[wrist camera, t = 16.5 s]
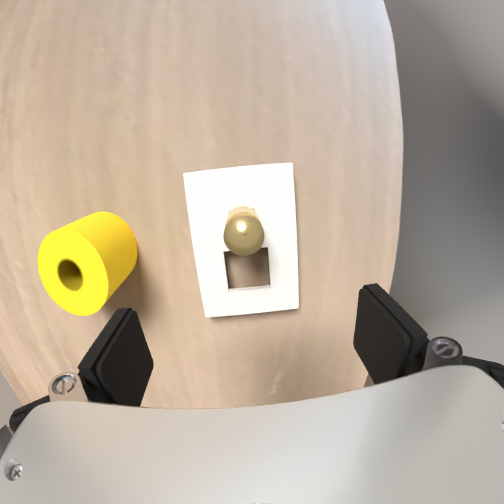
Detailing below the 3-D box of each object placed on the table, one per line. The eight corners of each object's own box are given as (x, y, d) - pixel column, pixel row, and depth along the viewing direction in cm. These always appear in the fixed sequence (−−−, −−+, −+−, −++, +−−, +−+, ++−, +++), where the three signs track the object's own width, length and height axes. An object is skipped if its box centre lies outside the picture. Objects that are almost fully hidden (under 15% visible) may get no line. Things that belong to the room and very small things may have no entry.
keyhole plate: (295, 299, 36) (298, 308, 34) (207, 308, 36) (205, 317, 34) (288, 162, 31) (292, 162, 28) (187, 172, 31) (183, 173, 28)
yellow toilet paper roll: (67, 226, 32) (26, 246, 23) (120, 200, 31) (83, 214, 22) (94, 289, 35) (63, 322, 26) (149, 270, 34) (123, 305, 25)
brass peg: (260, 231, 33) (268, 255, 25) (227, 234, 33) (223, 260, 24) (257, 198, 32) (264, 211, 23) (224, 202, 32) (218, 216, 23)
